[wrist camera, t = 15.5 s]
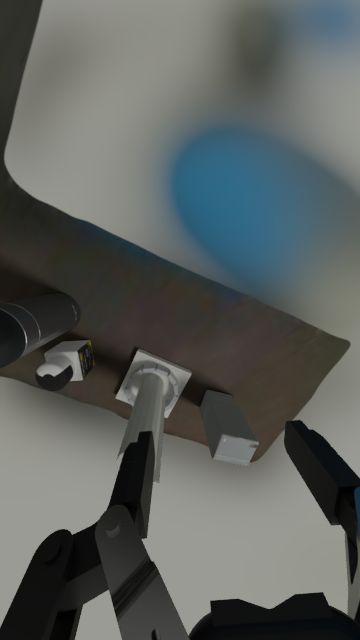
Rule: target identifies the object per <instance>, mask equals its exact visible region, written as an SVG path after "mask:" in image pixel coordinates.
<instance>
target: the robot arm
mask: <svg viewBox="0 0 360 640" xmlns="http://www.w3.org/2000/svg"><path fill="white" fill-rule="evenodd" d="M79 320H80V309H79V306H78V305H77V303H76V302H75V301H74V299H72V298H71V297H70V296H68V295H66V294H63V293H53V294H48V295H42V296H37V297H32V298H27V299H21V300H16V301H11V302H6V303H1V304H0V368H3V367H5V366H7V365H9V364H10V363H12V362H14V361H16V360H18V359H19V358H21V357H23V356H25V355H26V354H28V353H30V352H31V351H33V350H35V349H37V348H39V347H40V346H42V345H44V344H46V343H47V342H49V341H51V340H53V339H54V338H56V337H58V336H60V335H62V334H63V333H65V332H67V331H69V330H70V329H72V328H74V327H75V326H76V325H77V324H78V322H79ZM284 444H285V448H286V451H287V453H288V455H289V457H290V458H291V460H292V462H293V463H294V465H295V466H296V468H297V470H298V471H299V473H300V475H301V476H302V478H303V480H304V481H305V483H306V485H307V486H308V488H309V490H310V491H311V493H312V495H313V496H314V498H315V499H316V501H317V503H318V504H319V506H320V508H321V509H322V511H323V513H324V514H325V516H326V518H327V519H328V521H329V522H330V524H331V525H341V526H342V527H343V529H344V530H345V547H346V561H347V574H348V615H346V614H345V613H343V612H342V611H340V610H338V609H336V608H334V607H332V606H329V605H328V602H327V600H326V598H325V596H324V594H323V592H321V593H308V594H296V595H294V596H292V597H290V598H289V599H287V600H285V601H284V602H282V603H281V604H279V605H278V606H276V607H275V608H272V609H266V608H263V607H261V606H258V605H255V604H252V603H248V602H246V601H243V600H240V599H228V600H215V601H210V603H211V612H210V613H209V614H207V615H206V616H204V617H203V618H202V619H201V620H200V621H199V622H198V623H197V624H196V625H195V627H194V628H193V629H192V631H191V633H190V634H189V636H188V634H187V632H186V630H185V628H184V626H183V623H182V621H181V619H180V617H179V615H178V612H177V610H176V608H175V606H174V604H173V602H172V599H171V597H170V595H169V593H168V591H167V588H166V586H165V584H164V582H163V580H162V577H161V575H160V573H159V571H158V569H157V567H156V565H155V563H154V562H152V561H151V560H150V557H149V555H148V553H147V551H146V549H145V546H144V544H143V542H142V540H141V539H144V538H147V530H148V522H149V513H150V503H151V494H152V485H153V476H154V467H155V447H154V439H153V432H152V431H142V432H139V435H138V439H137V442H132V443H130V444H129V445H128V446H127V448H126V449H125V451H124V454H123V457H122V462H121V464H120V468H119V471H118V475H117V478H116V482H115V485H114V489H113V492H112V496H111V499H110V503H109V506H108V508H107V510H106V511H105V512H104V513H103V515H102V516H101V517H100V519H99V520H98V521H97V522H96V523H95V524H93V525H92V526H90V527H88V528H86V529H84V530H82V531H80V532H77V533H76V534H73V535H72V534H71V532H70V531H68V530H65V529H62V530H58V531H55V532H54V533H52V534H51V535H49V536H48V537H47V538H46V539H45V540H44V541H43V542H42V543H41V544H40V546H39V547H38V549H37V550H36V552H35V554H34V556H33V558H32V560H31V562H30V564H29V566H28V569H27V571H26V573H25V575H24V577H23V579H22V582H21V584H20V586H19V588H18V590H17V593H16V595H15V597H14V599H13V601H12V603H11V606H10V608H9V610H8V612H7V615H6V616H5V619H4V621H3V623H2V625H1V627H0V640H75V636H76V632H77V628H78V623H79V619H80V615H81V611H82V607H83V604H85V603H87V602H88V601H90V600H92V599H93V598H95V597H97V596H98V595H100V594H102V593H103V592H105V591H107V590H109V591H110V595H111V599H112V602H113V606H114V610H115V614H116V618H117V621H118V625H119V629H120V633H121V637H122V640H360V478H359V477H358V476H357V475H356V474H355V472H354V471H353V470H352V469H351V468H350V467H349V466H348V465H347V463H346V462H345V461H344V460H343V459H342V458H341V457H340V456H339V455H338V454H337V452H336V451H335V450H334V449H333V448H332V447H331V446H330V444H329V443H328V442H327V441H326V440H325V438H324V437H323V436H321V435H320V434H318V433H317V432H315V431H314V430H309V429H308V428H307V427H306V425H305V424H304V423H303V422H302V421H301V420H297V421H296V420H295V421H287V422H286V425H285V438H284Z"/></svg>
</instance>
